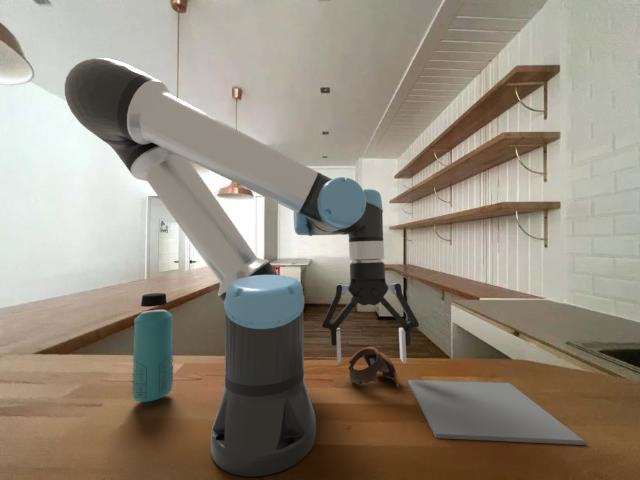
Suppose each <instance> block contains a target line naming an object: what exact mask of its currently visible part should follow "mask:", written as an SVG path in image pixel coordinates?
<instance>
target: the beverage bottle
mask: <svg viewBox="0 0 640 480" xmlns="http://www.w3.org/2000/svg"><path fill="white" fill-rule="evenodd" d="M140 303H141V304H140V306H141V307H143V308H144V307H147V308H149V307H159V306H163V305H167V294H166V293H165V292H164V293H163V292H154V293H153V292H152V293H146V294H142V297H141V302H140ZM173 316H174V315H173V314H172V313H171V312H170V311H168V310H166V309H154V310H146V311H142V312H140V313H139V314H138V315H137V316H136V317H135V318H134V319H133V320H134V321H133V323H134V330H133V331H134V332H133V333H134V334H133V339H134V340H133V355H132V356H133V357H132V371H133V373H131V374H132V376H131V377H132V380H131V389H132V390H131V392H132V393H131V394H132V397H133V399H134V401H136V402H141V403H142V402H143V403H144V402H145V403H146V402H153V401H156V400H159V399H161V398H164V397H165V396H167V395H168V394H170V392H171V391H172V389H173V382H174V381H173V380H174V379H173V369H174V365H173V362H174V359H173V358H174V355H173V351H174V347H173V341H174V340H173V318H174V317H173Z"/></svg>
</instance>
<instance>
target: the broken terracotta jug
mask: <svg viewBox="0 0 640 480" xmlns="http://www.w3.org/2000/svg"><path fill="white" fill-rule="evenodd" d="M361 358H363V359H364V360H365V362H366V364H367V365H368V367H365V368H363V369H354V366H355V365H356V363H357V362H358V361H359V360H360V359H361ZM348 362H349V364H350V365H349V366H348V370H349V380H350V383H351V384H358V385H362V384H369V383H370V382H371V383H372V382H375V383H379V378H378V372H379V373H382V378H391V379H393V380H394V382H395V387H396V388H399V387H400V384H399V379H398V374H397V372H396V369H395V366H394V364H393V363H392V360H391V359H390V357H388V356H387V355H386V354H385V353H383V352H380V351H379V349H377V348H376V347H374V345H373V346H372V345H370V346H367V347H363V348H360V349H359V350H358V351H357V352H355V353H354V354H353V355H352V356H351V358H350V359H349V361H348Z"/></svg>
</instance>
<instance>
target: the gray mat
mask: <svg viewBox="0 0 640 480" xmlns="http://www.w3.org/2000/svg"><path fill="white" fill-rule="evenodd" d="M407 381H408V383H407V384H408V386H409V387H410V389H411V392H412V393H413V395H414V397H415V399H416V402H417V404H418V405H419V407H420V409H421V412H422V414H423V415H424V418H425V419H426V421H427V424H428V425H429V427H430V430H431V432H432V434H433V436H434V438H436V439H452V440H453V439H454V440H473V441H474V440H475V441H493V442H495V441H496V442H515V443H537V444H554V445H555V444H556V445H575V446H577V445H578V446H584V445H585V443H584V441H585V440H584V439H582V438H581V437H580V436H579V435H577V434H576V433H575V432H573V431H572V430H571V429H569V428H568V427H567V426H565V424H563V423H562V422H560V421H559V419H557V418H555V417H554V416H553V415H551V414H550V413H549V412H548V411H546V410H545V409H544V408H543V407H541V406H540V405H538V404H537V403H536V402H535V401H533V400H532V399H531V398H529V397H528V396H527V395H526V394H524V393H523V392H522V391H521V390H519V389H518V388H517V387H515V386H514V385H512V384H511V383H510V382H487V381H486V382H485V381H481V382H480V381H454V380H452V381H449V380H448V381H447V380H424V379H423V380H421V379H418V380H415V379H408V380H407Z"/></svg>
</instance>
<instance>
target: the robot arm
mask: <svg viewBox="0 0 640 480" xmlns="http://www.w3.org/2000/svg"><path fill="white" fill-rule="evenodd" d="M64 96H65V101H66V103H67V105H68V108H69V110H70V112H71V113H72V114H73V115H74V117H75V118H76V119H77V121H78V122H79V124H81V125H82V126H83V127H84V128H85V129H86V130H88V131H89V132H91V133H92V134H93V135H94V136H97V137H98V138H99V139H100V140H102V141H103V142H105V143H106V144H107V145H108V146H110V148H111V149H112V150H114V152H115V154H116V155H117V157H119V158H120V159H119V160H121V162H122V163H123V165H124V166H125V168H126V169H127V170H128V171H129V173H130V174H131V176H132V177H134V178H135V179H136V180H139V181H140V180H141V181H146V182H147V183H148V184H149V185H150V187H151V188H152V190H153V191H154V193H155V194H156V195H157V197H158V198H159V199H160V201H161V202H162V203H163V205H164V207H165V208H166V210H167V211H168V212H169V213H170V215H171V216H172V217H173V219H174V221H175V222H176V223H177V224H178V227H179V228H181V230H182V231H183V233H184V234H185V236H186V237H187V239H188V240H189V241H190V244H191V245H192V246H193V247H194V249H195V250H196V252H197V253H198V254H199V256H200V257H201V258H202V260H203V261H204V262H205V264H206V265H207V267H208V269H209V270H210V271H211V272H212V274H213V275H214V276H215V278H216V279H217V280H218V282H219V289H218V293H217V294H218V297H219V298H220V299H221V300H222V302H223V309H224V312H225V316H224V317H225V318H224V321H225V323H224V325H225V326H224V328H225V329H224V331H225V332H224V334H225V335H224V337H225V338H224V339H225V340H224V390H223V393H222V396H221V399H220V402H219V406H218V408H217V411H216V415H215V418H214V421H213V424H212V428H211V433H210V453H211V454H210V455H211V457H212V460H213V461H214V462H215V464H216V465H217V466H218V467H219V468H221V469H222V470H224V471H225V472H228V473H229V474H233V475H237V476H241V477H263V476H269V475H273V474H277V473H280V472H282V471H285V470H287V469H289V468H291V467H293V466H295V465H296V464H297V463H299V462H300V461H302V460H303V459H304V458H305V457H306V456H307V455H308V454H309V452H310V451H311V450H312V449H313V447H314V444H315V442H316V438H317V418H316V414H315V410H314V408H313V404H312V401H311V398H310V395H309V391H308V389H307V386H306V382H305V352H304V351H305V344H304V341H305V339H304V332H305V331H304V308H305V295H304V290H303V289H304V288H303V285H302V283H301V282H300V280H298V279H297V278H295V277H292V276H285V275H281V274H278V272H277V270H276V269H275V268H274V267H273V265H272V264H271V262H270V261H269V260H268V259H265V258H264V259H263V258H259V257H257V256H256V255H257V254H255V253H254V251H253V250H252V248H251V247H250V245H249V244H248V242H247V241H246V239H245V238H244V237H243V235H242V234H241V232H240V231H239V229H238V228H237V227H236V225H235V224H234V223H233V221H232V220H231V217H229V215H228V214H227V212H226V211H225V209H224V208H223V206H222V205H221V204H220V202H219V201H218V200H217V198H216V196H214V194H213V193H212V191H211V190H210V188H209V186H208V185H207V184H206V183H205V181H204V179H203V178H202V177H201V175H200V173H198V171H197V170H196V168H195V167H194V165H193V164H192V163H194V164H196V165H198V166H200V167H202V168H204V169H207V170H209V171H211V173H212V172H213V173H214V174H216V175H219V176H221V177H222V178H224V179H227V180H229V181H232V182H234V183H235V184H238V185H240V186H242V187H244V188H246V189H247V190H249V191H252V192H254V193H255V194H258V195H259V196H262V197H265V198H266V199H269V200H271V201H273V202H275V203H277V204H278V205H281V206H283V207H285V208H288V209H289V210H291V211H293V228H294V232H295V234H296V235H299V236H309V237H312V236H336V235H337V236H338V235H342V236H343V235H345V236H346V235H348V250H349V251H348V252H349V253H348V254H349V261H352V262H350V264H349V278H350V279H349V280H350V282H349V284H347V285H346V284H341V283H338V284H336V289H335V290H336V291H335V295H334V297H333V299H332V302H331V303H330V307H329V309H328V311H327V312H326V316H325V317H324V320H323V321H322V328H323V329H328V330H330V337H331V338H330V339H331V340H330V341H331V346H332V347H333V346H335V347H336V362H337V364H341V363H342V348H341V345H342V343H341V328H340V325H342V323H343V322H344V320H345V319H346V318H347V317H348V315H350V314H351V312H352V310H353V309H354V308H355V307H356V306H357V304H359V305H360V306H367V305H370V306H371V305H372V306H377V305H378V304H381V305H382V306H383V307H384V308H385V309H386V310H387V311H388V312H389V314H390V315H391V316H392V317H393V318H394V319H395V321H397V322H398V323H399V324H400V326H401V327H398V338H399V339H398V340H399V359H400V360H401V362H402V363H403V364H407V346H410V345H411V342H412V341H411V331H412V329H414V328H418V327H419V326H420V324H419V321H418V319H417V317H416V316H415V314H414V313H413V310H412V309H411V307H410V305H409V303H408V302H407V300H406V298H405V296H404V294H403V291H402V290H403V289H402V285H401V284H400V283H399V282H394V283H390V284H387V282H386V267H385V266H386V265H385V263H384V262H383V260H384V259H385V245H384V242H385V241H384V227H383V226H384V224H383V221H384V220H383V216H384V215H383V213H384V209H383V202H382V195H381V193H380V192H379V191H377V190H375V189H371V188H365V189H363V187H362V186H361V185H360V184H359V183H358V182H357V181H356V180H354V179H352V178H349V177H346V176H345V177H343V176H340V177H335V178H331V177H329V176H327V175H324V174H322V173H321V172H318V171H317V170H314V169H312V168H311V167H310V166H307V165H305V164H303V163H301V162H300V161H298V160H296V159H294V158H292V157H290V156H288V155H286V154H284V153H282V152H281V151H279V150H276V149H275V148H273V147H271V146H269V145H267V144H265V143H264V142H261V141H259V140H258V139H256V138H253V137H252V136H250V135H248V134H246V133H245V132H242V131H240V130H238V129H237V128H235V127H232V126H231V125H229V124H227V123H225V122H224V121H221V120H219V119H217V118H215V117H213V116H212V115H209V114H208V113H206V112H204V111H203V110H200V109H199V108H196V107H194V106H193V105H191V104H189V103H187V102H186V101H183V100H181V99H179V98H178V97H176V96H173V95H172V94H171V92H170V91H169V88H168V87H167V85H166V84H165V83H163V82H162V81H161V80H158V79H156V78H154V77H153V76H151V75H148V74H147V73H146V72H144V71H141V70H139V69H137V68H135V67H133V66H131V65H129V64H127V63H124V62H121V61H118V60H114V59H111V58H104V57H95V58H89V59H86V60H82V61H80V62H78V63H77V64H75V65H74V66H73V67H72V68H71V69H70V71H69V72H68V74H67V75H66V77H65V83H64ZM347 291H348V292H349V293H350V294H351V296H352V298H350V300H349V302H348V303H347V304H346V305H345V307H343V309H342V310H341V311H340V313H339V314H338V315H337V317H336V318H335V319H334V320H333V322H332V321H331V320H332V318H333V316H334V314H335V312H336V309H337V308H338V305H339V303H340V302H341V301H340V300H341V299H342V296H344V295H345V294H346V292H347ZM388 291H390V293H391V294H393V295H395V297H396V299H397V301H398V303H399V305H400V307H401V309H402V310H403V312H404V313H405V315H406V317H407V319H408V321H406V320H405V319H404V318H403V317H402V316H401V314H400V313H399V312H398V311H397V310H396V309H395V308H394V307H393V306H392V305H391V304H390V302H389V301H388V300H387V299H386V298H385V295H386V294H387V292H388Z"/></svg>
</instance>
